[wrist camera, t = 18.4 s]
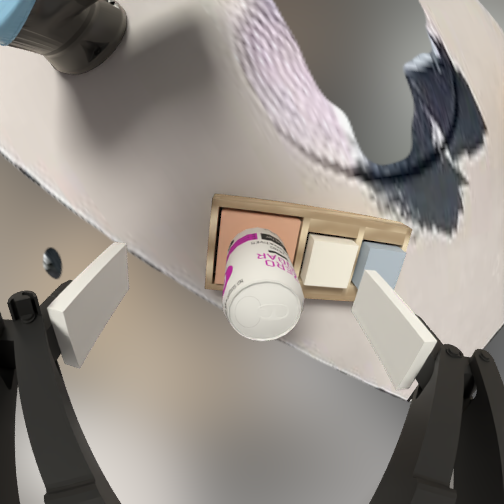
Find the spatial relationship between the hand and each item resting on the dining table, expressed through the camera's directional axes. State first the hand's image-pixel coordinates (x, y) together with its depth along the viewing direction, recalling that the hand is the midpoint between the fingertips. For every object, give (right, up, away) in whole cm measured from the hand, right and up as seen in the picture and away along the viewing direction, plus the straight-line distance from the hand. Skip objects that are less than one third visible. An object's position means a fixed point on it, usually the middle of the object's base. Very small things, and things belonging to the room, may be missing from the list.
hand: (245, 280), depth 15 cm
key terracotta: (+1, +3, +30) cm, 30 cm away
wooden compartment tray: (+10, +2, +31) cm, 32 cm away
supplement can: (+1, +1, +26) cm, 26 cm away
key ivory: (+12, +1, +29) cm, 31 cm away
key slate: (+21, 0, +30) cm, 36 cm away
